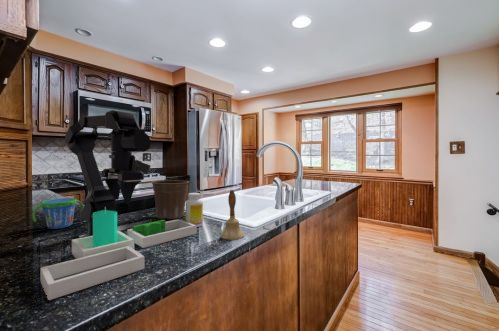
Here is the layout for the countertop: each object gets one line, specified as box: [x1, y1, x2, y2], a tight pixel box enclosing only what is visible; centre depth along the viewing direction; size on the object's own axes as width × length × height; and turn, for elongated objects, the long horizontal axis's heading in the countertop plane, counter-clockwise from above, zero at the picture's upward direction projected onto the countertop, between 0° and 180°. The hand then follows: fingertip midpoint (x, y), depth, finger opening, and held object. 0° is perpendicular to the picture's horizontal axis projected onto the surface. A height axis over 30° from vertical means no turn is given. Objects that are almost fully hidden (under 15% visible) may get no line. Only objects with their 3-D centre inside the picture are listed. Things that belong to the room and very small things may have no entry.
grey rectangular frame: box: [39, 246, 146, 301], centre depth 55 cm, size 10×18×3 cm, turn 137°
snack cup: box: [31, 197, 85, 230], centre depth 92 cm, size 16×10×10 cm
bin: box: [71, 230, 135, 259], centre depth 67 cm, size 12×12×4 cm
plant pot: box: [151, 179, 190, 220], centre depth 110 cm, size 16×16×16 cm
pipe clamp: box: [132, 219, 166, 236], centre depth 82 cm, size 11×4×5 cm, turn 141°
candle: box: [93, 207, 118, 248], centre depth 67 cm, size 6×6×12 cm
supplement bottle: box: [185, 192, 204, 228], centre depth 95 cm, size 7×7×13 cm
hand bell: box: [219, 189, 245, 241], centre depth 83 cm, size 8×8×16 cm
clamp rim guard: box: [126, 218, 198, 249], centre depth 82 cm, size 12×19×3 cm, turn 137°
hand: (121, 201), depth 75 cm, fingers open, 9 cm apart
